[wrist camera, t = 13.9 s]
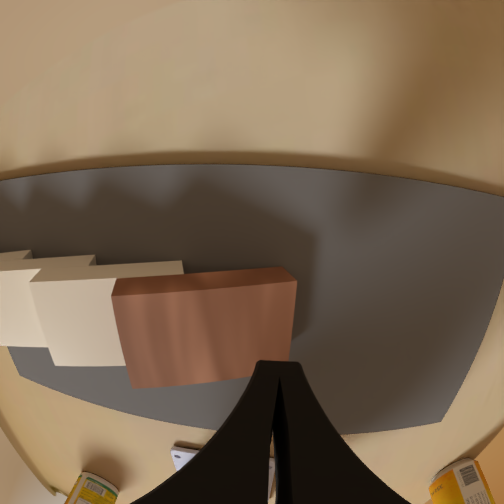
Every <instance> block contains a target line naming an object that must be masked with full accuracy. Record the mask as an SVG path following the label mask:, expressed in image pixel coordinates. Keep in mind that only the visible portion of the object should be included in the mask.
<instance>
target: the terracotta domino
mask: <svg viewBox="0 0 504 504" xmlns="http://www.w3.org/2000/svg"><path fill="white" fill-rule="evenodd" d="M296 289H297V280H296V279H295V278H294V277H293V276H292V275H291V274H290V273H289V272H287V271H286V270H285V269H284V268H283V267H282V266H280V267H268V268H256V269H244V270H231V271H218V272H205V273H191V274H177V275H162V276H148V277H132V278H116V281H115V284H114V287H113V291H112V294H111V300H112V305H113V311H114V316H115V321H116V326H117V330H118V335H119V339H120V344H121V348H122V352H123V356H124V360H125V364H126V368H127V372H128V375H129V379H130V383H131V386H132V389H139V388H156V387H169V386H180V385H190V384H199V383H208V382H216V381H223V380H230V379H237V378H243V377H249V376H252V374H253V372H254V369H255V365H256V362H257V361H259V360H272V361H289V353H290V344H291V336H292V327H293V318H294V309H295V299H296Z"/></svg>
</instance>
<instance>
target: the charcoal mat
mask: <svg viewBox="0 0 504 504" xmlns="http://www.w3.org/2000/svg"><path fill="white" fill-rule="evenodd" d="M23 250H31V251H32V257H33V259H38V258H52V257H67V256H81V255H95V257H96V264H97V265H114V264H130V263H147V262H164V261H180V260H182V266H183V272H184V274H191V273H205V272H218V271H231V270H244V269H256V268H268V267H280V266H282V267H283V268H284V269H285V270H286V271H287V272H289V273H290V274H291V275H292V276H293V277H294V278H295V279H296V280H297V289H296V299H295V309H294V318H293V327H292V336H291V344H290V353H289V361H294V362H299V363H300V364H301V365H302V368H303V371H304V374H305V376H306V378H307V380H308V383H309V385H310V387H311V389H312V391H313V393H314V395H315V397H316V398H317V400H318V402H319V404H320V405H321V407H322V409H323V410H324V412H325V414H326V415H327V417H328V418H329V420H330V422H331V423H332V424H333V426H334V427H335V429H336V430H337V432H338V433H339V434H340V435H343V434H358V433H369V432H379V431H388V430H396V429H403V428H409V427H415V426H421V425H427V424H432V423H437V422H441V421H442V419H443V417H444V416H445V414H446V412H447V411H448V409H449V407H450V405H451V404H452V402H453V400H454V398H455V397H456V395H457V393H458V391H459V389H460V387H461V385H462V383H463V381H464V379H465V377H466V375H467V373H468V371H469V369H470V367H471V365H472V363H473V361H474V359H475V356H476V354H477V352H478V349H479V347H480V345H481V342H482V340H483V338H484V335H485V332H486V330H487V327H488V325H489V322H490V319H491V317H492V314H493V311H494V308H495V305H496V302H497V299H498V296H499V293H500V289H501V286H502V282H503V279H504V197H502V196H498V195H493V194H489V193H484V192H480V191H475V190H470V189H465V188H460V187H455V186H450V185H444V184H439V183H433V182H427V181H421V180H414V179H408V178H401V177H394V176H386V175H378V174H370V173H361V172H352V171H342V170H331V169H319V168H306V167H290V166H271V165H242V164H172V165H144V166H125V167H110V168H97V169H85V170H75V171H66V172H57V173H49V174H41V175H34V176H27V177H20V178H14V179H8V180H2V181H0V253H5V252H14V251H23ZM7 347H8V350H9V352H10V354H11V357H12V359H13V361H14V364H15V366H16V368H17V370H18V373H19V375H20V376H22V377H25V378H27V379H29V380H31V381H34V382H36V383H38V384H41V385H43V386H46V387H48V388H51V389H53V390H56V391H59V392H61V393H64V394H67V395H69V396H72V397H75V398H78V399H81V400H84V401H87V402H90V403H93V404H97V405H100V406H103V407H107V408H110V409H114V410H117V411H121V412H125V413H128V414H132V415H137V416H141V417H145V418H149V419H154V420H159V421H164V422H169V423H174V424H179V425H185V426H191V427H198V428H205V429H212V430H218V429H219V428H220V427H221V426H222V424H223V423H224V422H225V420H226V419H227V417H228V416H229V415H230V413H231V412H232V410H233V409H234V407H235V406H236V404H237V403H238V401H239V399H240V397H241V396H242V394H243V392H244V391H245V389H246V387H247V385H248V383H249V381H250V379H251V377H252V376H249V377H243V378H237V379H230V380H223V381H216V382H208V383H199V384H190V385H180V386H169V387H156V388H139V389H132V386H131V383H130V379H129V375H128V372H127V368H126V366H55V364H54V362H53V359H52V357H51V354H50V351H49V348H48V347H16V346H7ZM272 435H273V432H272Z"/></svg>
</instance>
